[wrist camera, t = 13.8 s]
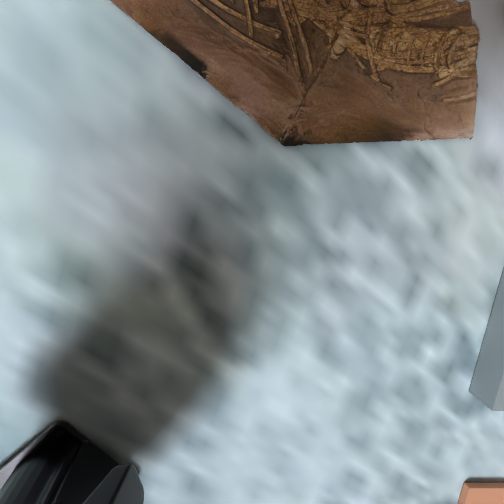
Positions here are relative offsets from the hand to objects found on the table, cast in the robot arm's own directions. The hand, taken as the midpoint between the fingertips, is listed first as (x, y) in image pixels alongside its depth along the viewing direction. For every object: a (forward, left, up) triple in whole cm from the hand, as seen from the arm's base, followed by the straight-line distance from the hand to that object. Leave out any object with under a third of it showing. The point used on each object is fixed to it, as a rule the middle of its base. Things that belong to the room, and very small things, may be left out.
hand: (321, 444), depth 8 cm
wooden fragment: (+10, +10, -13) cm, 19 cm away
